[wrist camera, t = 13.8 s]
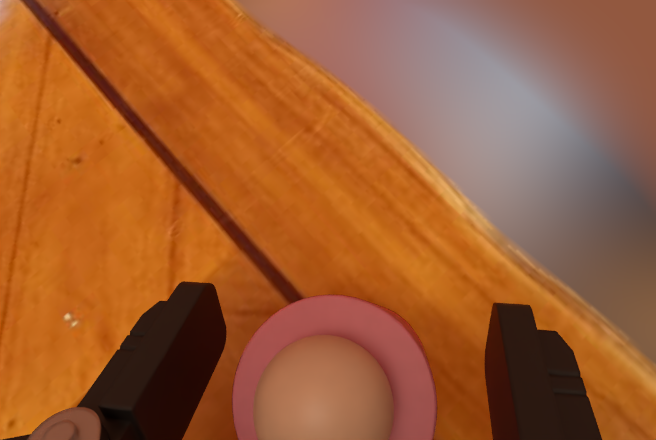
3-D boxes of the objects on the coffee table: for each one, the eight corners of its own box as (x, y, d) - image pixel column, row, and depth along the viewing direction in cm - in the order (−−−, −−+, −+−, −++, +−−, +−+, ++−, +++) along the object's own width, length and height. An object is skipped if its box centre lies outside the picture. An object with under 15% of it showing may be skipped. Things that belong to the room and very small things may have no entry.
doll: (455, 368, 15) (503, 426, 7) (365, 465, 15) (309, 639, 7) (360, 277, 16) (307, 237, 8) (275, 367, 16) (137, 417, 8)
